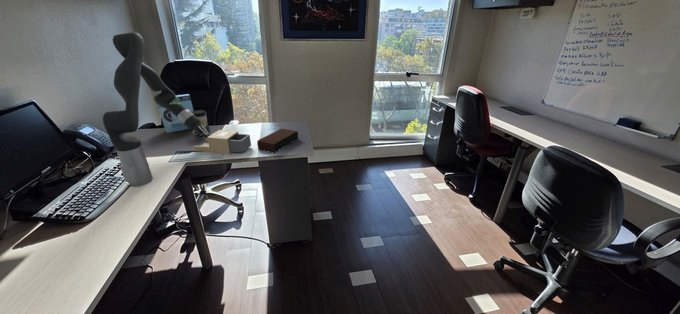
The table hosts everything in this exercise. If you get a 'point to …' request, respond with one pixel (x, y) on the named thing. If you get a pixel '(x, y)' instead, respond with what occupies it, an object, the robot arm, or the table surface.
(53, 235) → the table surface
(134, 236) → the table surface
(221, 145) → the mailer sleeve
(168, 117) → the gum box
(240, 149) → the tray
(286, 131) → the brown brick
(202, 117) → the coffee cup
